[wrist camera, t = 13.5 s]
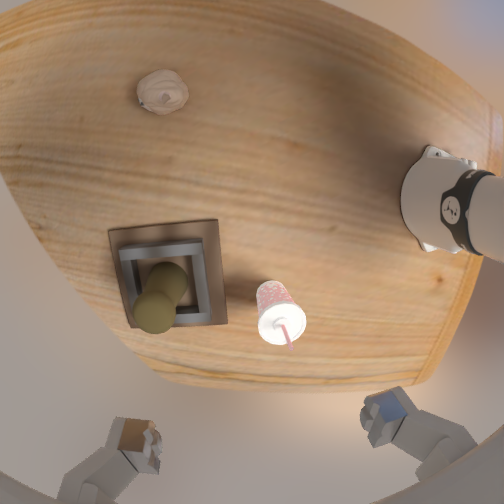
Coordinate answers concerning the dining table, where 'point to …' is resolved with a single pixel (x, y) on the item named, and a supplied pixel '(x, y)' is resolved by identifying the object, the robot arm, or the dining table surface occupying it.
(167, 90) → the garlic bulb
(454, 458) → the robot arm
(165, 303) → the olive pawn peg
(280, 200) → the dining table surface
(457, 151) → the dining table surface
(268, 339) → the beverage cup
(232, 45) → the dining table surface
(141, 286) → the socket base
